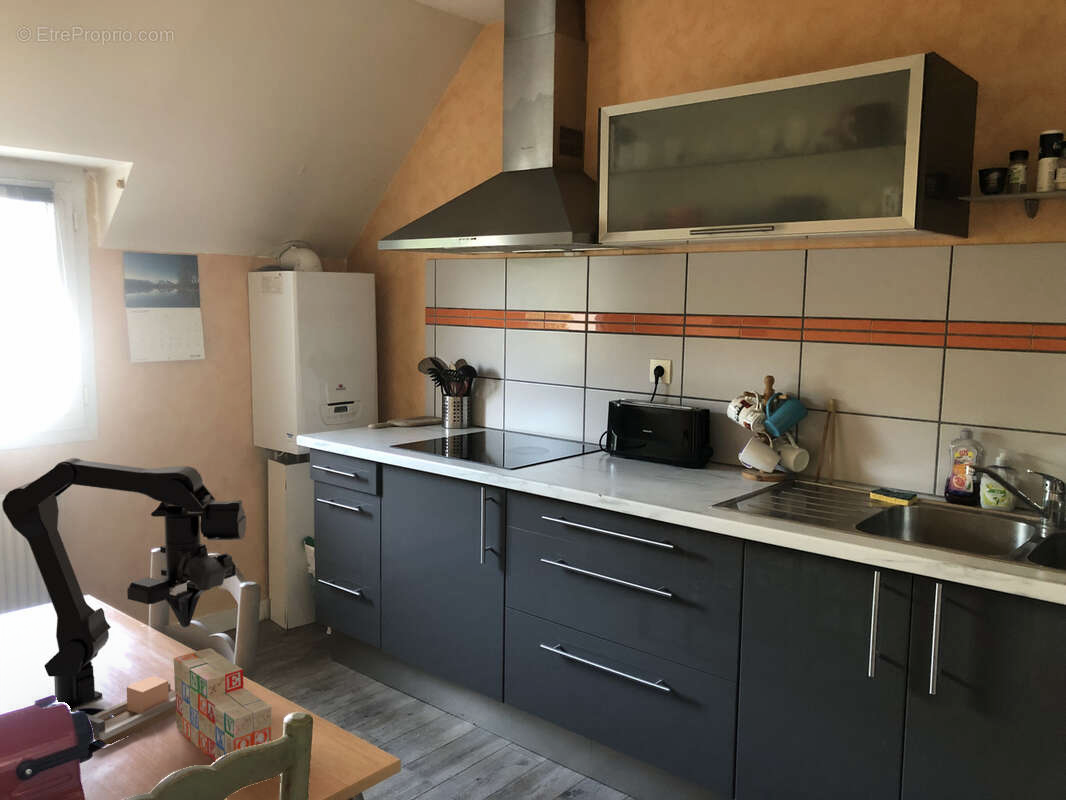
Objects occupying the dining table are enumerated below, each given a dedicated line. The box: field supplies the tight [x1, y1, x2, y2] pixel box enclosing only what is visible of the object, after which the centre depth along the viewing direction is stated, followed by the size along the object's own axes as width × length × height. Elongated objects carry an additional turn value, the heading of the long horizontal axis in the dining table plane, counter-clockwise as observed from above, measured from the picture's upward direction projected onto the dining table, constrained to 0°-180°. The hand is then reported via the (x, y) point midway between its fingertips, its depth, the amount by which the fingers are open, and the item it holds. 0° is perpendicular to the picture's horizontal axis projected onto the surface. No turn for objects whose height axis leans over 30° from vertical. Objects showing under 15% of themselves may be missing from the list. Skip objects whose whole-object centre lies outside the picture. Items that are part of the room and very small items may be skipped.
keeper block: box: [126, 675, 169, 714], centre depth 144 cm, size 4×5×4 cm
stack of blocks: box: [173, 647, 273, 761], centre depth 134 cm, size 21×6×12 cm, turn 45°
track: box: [85, 682, 177, 744], centre depth 142 cm, size 7×17×4 cm, turn 152°
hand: (185, 626), depth 150 cm, fingers closed
